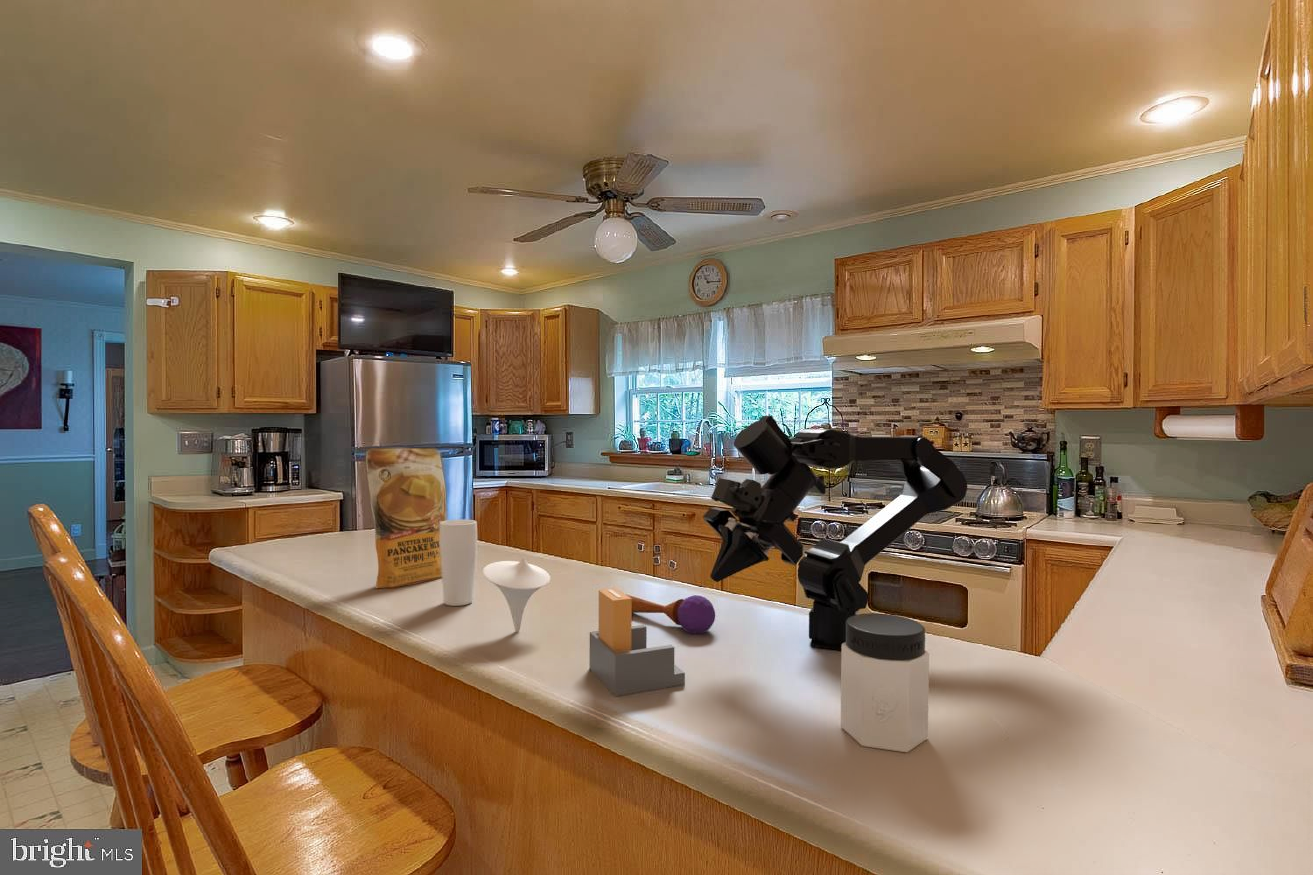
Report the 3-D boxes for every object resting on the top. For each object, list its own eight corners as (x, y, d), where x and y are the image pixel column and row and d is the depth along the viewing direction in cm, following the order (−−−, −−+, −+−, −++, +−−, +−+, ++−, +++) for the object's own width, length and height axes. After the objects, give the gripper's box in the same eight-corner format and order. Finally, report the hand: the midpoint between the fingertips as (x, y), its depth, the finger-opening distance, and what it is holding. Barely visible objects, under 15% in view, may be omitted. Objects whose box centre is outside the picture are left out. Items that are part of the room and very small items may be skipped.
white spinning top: (564, 628, 107) (564, 555, 107) (513, 647, 98) (513, 566, 98) (520, 617, 113) (520, 547, 113) (468, 633, 104) (468, 557, 104)
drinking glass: (485, 601, 123) (485, 521, 123) (456, 610, 117) (456, 525, 117) (460, 596, 127) (460, 518, 126) (431, 604, 121) (430, 522, 120)
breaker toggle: (616, 658, 89) (616, 587, 89) (631, 672, 84) (631, 597, 84) (598, 660, 88) (598, 589, 88) (612, 675, 83) (613, 599, 83)
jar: (839, 744, 69) (840, 630, 69) (841, 712, 77) (843, 609, 77) (931, 758, 67) (933, 639, 66) (924, 723, 74) (926, 617, 74)
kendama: (634, 585, 120) (723, 597, 107) (631, 619, 119) (721, 635, 106) (611, 585, 116) (700, 597, 102) (608, 620, 115) (698, 637, 101)
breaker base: (653, 658, 94) (653, 623, 94) (684, 684, 85) (685, 645, 85) (589, 668, 90) (589, 631, 90) (615, 696, 81) (615, 655, 81)
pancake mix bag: (357, 587, 133) (356, 448, 132) (440, 570, 148) (440, 445, 147) (374, 592, 129) (373, 449, 128) (458, 575, 144) (458, 446, 143)
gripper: (714, 455, 102) (648, 531, 98) (784, 462, 85) (709, 554, 81) (757, 503, 106) (696, 578, 101) (833, 519, 88) (763, 610, 84)
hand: (713, 579), depth 92 cm, fingers closed
